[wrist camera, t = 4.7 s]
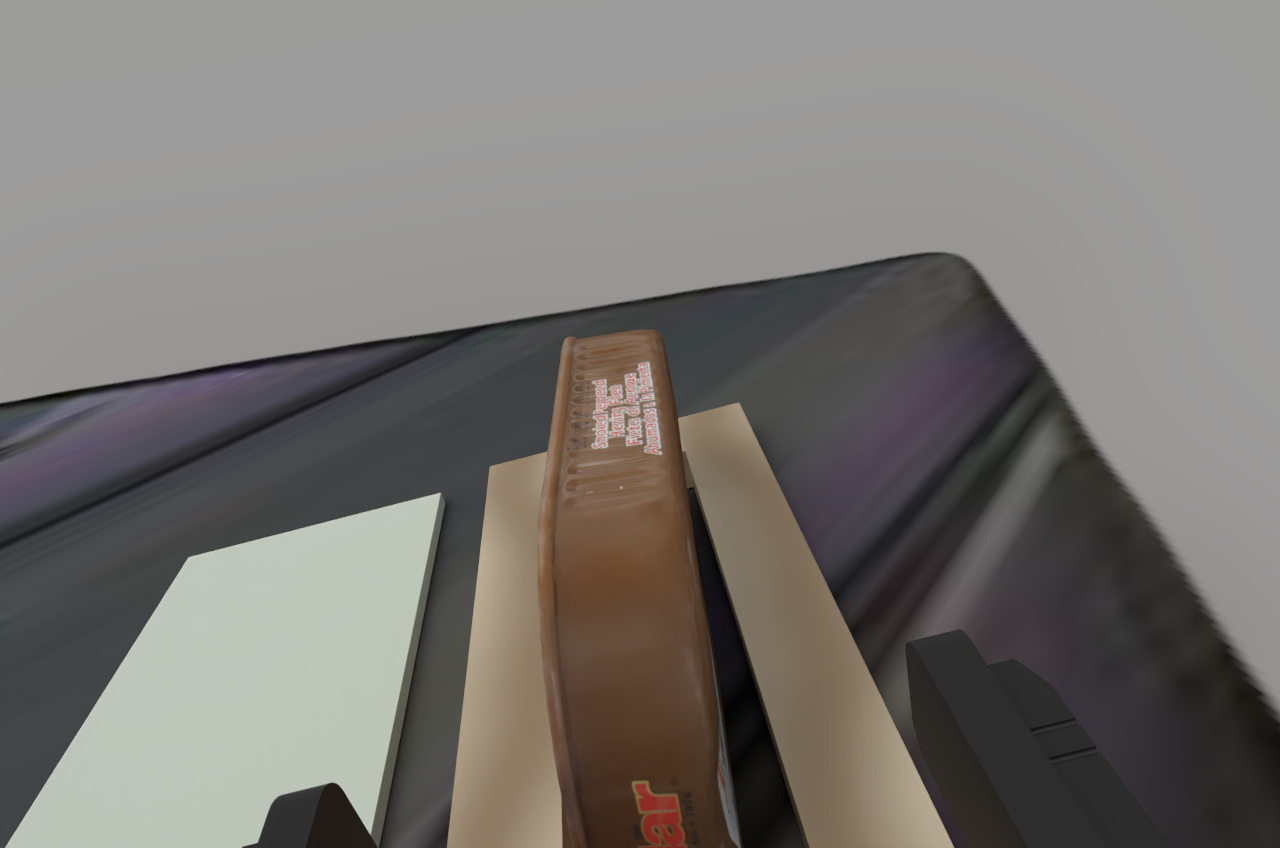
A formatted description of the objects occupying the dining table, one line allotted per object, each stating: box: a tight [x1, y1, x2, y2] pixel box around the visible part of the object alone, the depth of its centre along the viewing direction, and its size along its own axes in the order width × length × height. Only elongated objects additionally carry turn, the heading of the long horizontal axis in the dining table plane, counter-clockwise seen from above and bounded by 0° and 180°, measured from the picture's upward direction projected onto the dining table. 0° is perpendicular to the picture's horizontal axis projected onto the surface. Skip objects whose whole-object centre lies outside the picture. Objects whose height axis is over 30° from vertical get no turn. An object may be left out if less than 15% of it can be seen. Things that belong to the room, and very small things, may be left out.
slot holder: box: [447, 403, 954, 848], centre depth 21 cm, size 9×21×2 cm, turn 6°
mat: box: [5, 493, 445, 848], centre depth 22 cm, size 10×22×1 cm, turn 6°
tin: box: [537, 330, 743, 848], centre depth 19 cm, size 15×3×8 cm, turn 2°
